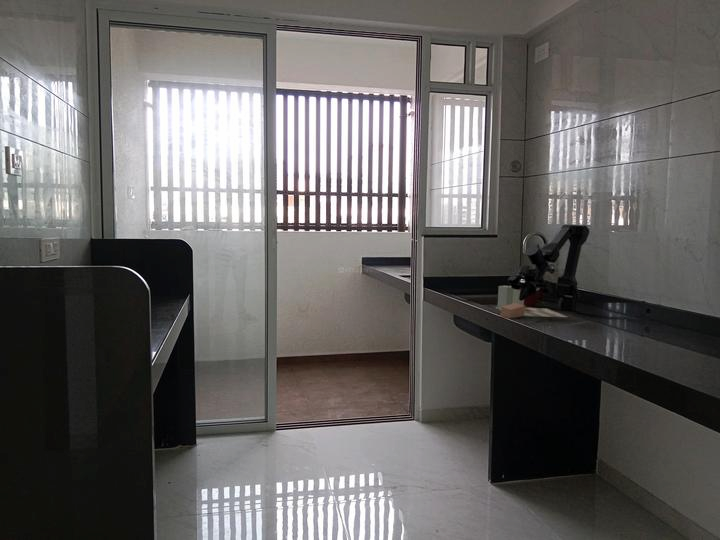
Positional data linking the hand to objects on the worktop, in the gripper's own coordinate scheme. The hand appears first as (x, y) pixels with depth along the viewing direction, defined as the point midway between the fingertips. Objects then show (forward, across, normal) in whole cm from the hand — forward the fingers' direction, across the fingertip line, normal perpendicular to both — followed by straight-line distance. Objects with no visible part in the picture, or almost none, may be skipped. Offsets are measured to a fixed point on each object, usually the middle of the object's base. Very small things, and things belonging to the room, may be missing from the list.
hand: (520, 299), depth 230 cm
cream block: (-6, -13, +16) cm, 21 cm away
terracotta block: (+3, 0, +3) cm, 4 cm away
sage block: (-2, -14, +11) cm, 18 cm away
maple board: (-4, -4, +14) cm, 15 cm away
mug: (-16, -15, +27) cm, 35 cm away
